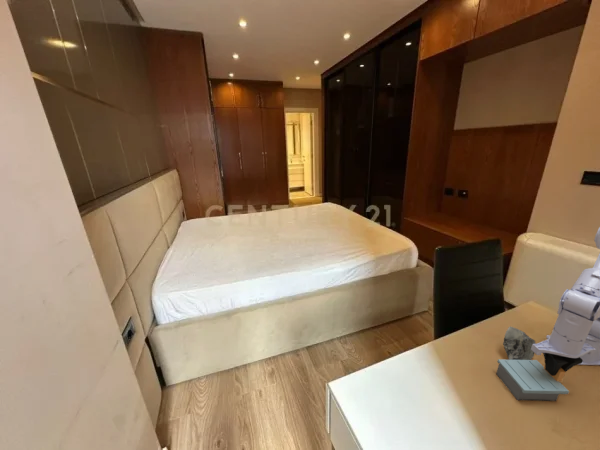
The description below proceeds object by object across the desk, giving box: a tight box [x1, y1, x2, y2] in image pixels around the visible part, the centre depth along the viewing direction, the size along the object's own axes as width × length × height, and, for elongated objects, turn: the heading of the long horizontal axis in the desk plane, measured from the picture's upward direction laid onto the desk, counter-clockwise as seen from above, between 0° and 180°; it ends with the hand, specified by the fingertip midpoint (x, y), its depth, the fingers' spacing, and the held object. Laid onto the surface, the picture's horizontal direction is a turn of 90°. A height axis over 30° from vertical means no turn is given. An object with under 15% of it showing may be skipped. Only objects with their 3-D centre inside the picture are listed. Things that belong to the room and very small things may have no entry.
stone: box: [502, 325, 537, 360], centre depth 79 cm, size 10×10×10 cm
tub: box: [495, 363, 560, 402], centre depth 69 cm, size 10×8×4 cm
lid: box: [497, 358, 570, 395], centre depth 67 cm, size 12×10×4 cm
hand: (553, 372), depth 67 cm, fingers closed on lid
